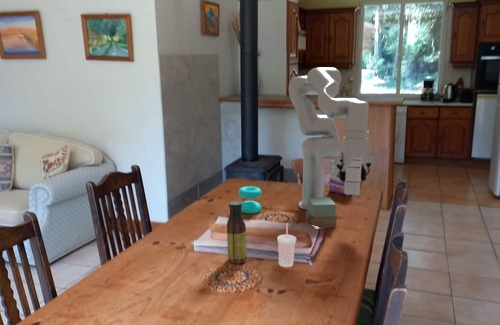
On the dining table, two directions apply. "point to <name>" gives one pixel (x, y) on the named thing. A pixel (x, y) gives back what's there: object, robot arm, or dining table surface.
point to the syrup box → (353, 177)
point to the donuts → (250, 193)
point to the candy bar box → (336, 180)
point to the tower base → (321, 221)
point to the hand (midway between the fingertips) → (352, 179)
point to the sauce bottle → (236, 234)
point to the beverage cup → (286, 249)
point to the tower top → (321, 207)
